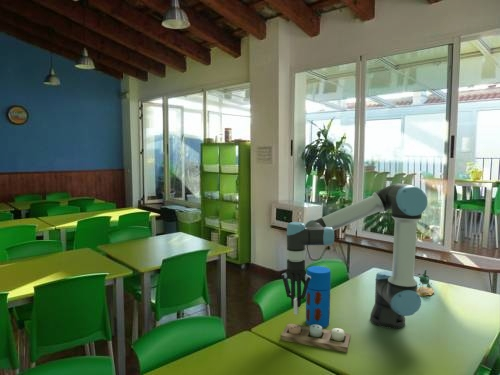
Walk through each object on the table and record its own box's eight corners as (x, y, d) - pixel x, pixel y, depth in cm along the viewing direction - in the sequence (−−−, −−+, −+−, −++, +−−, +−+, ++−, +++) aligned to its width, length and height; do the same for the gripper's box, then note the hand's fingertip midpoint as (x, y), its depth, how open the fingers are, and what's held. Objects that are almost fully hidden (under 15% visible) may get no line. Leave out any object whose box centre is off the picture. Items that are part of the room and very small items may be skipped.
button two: (322, 332, 157) (323, 325, 156) (320, 337, 152) (320, 330, 152) (311, 330, 159) (311, 323, 158) (308, 335, 154) (308, 328, 154)
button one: (344, 336, 154) (344, 328, 153) (343, 341, 149) (343, 334, 149) (332, 334, 155) (332, 326, 155) (330, 339, 151) (330, 332, 150)
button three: (301, 332, 160) (301, 325, 160) (299, 337, 155) (299, 330, 155) (290, 330, 162) (290, 323, 162) (287, 335, 157) (287, 328, 157)
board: (350, 338, 156) (350, 333, 156) (347, 352, 145) (347, 347, 145) (288, 327, 166) (288, 323, 166) (280, 339, 155) (280, 335, 154)
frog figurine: (442, 292, 210) (442, 267, 207) (422, 302, 201) (422, 276, 198) (427, 287, 218) (426, 263, 215) (407, 296, 209) (406, 271, 206)
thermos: (329, 329, 164) (330, 274, 162) (305, 326, 167) (306, 272, 164) (329, 318, 175) (330, 266, 173) (306, 316, 177) (307, 265, 175)
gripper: (313, 258, 157) (313, 312, 159) (283, 255, 162) (283, 308, 164) (309, 263, 150) (309, 319, 152) (278, 260, 155) (278, 315, 157)
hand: (296, 313), depth 158 cm, fingers closed
